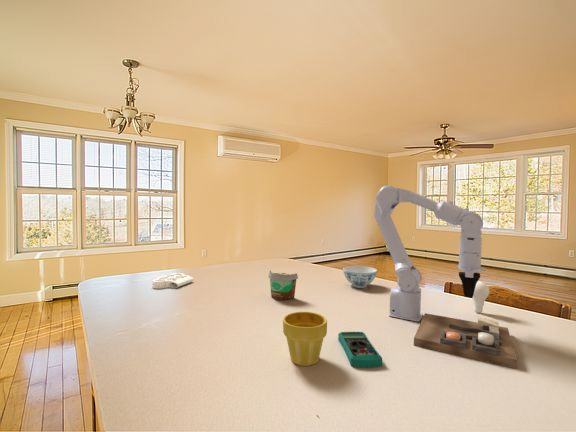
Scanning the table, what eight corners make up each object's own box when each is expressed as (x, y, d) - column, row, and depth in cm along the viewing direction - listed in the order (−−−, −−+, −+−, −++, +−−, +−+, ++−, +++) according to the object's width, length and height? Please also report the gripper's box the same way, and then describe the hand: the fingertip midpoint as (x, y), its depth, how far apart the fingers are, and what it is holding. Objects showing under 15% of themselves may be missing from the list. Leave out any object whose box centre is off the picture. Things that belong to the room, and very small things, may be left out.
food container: (262, 298, 120) (262, 273, 120) (269, 294, 126) (269, 270, 126) (292, 303, 116) (292, 276, 115) (297, 298, 122) (298, 273, 121)
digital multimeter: (351, 370, 70) (351, 357, 70) (337, 341, 85) (337, 330, 85) (383, 369, 71) (383, 357, 71) (364, 340, 85) (364, 330, 85)
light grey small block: (489, 340, 80) (489, 331, 80) (488, 334, 84) (489, 326, 84) (498, 342, 79) (499, 333, 79) (497, 336, 83) (498, 327, 83)
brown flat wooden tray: (413, 345, 82) (414, 332, 82) (424, 319, 101) (425, 308, 101) (516, 368, 71) (517, 353, 71) (507, 334, 90) (507, 322, 90)
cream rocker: (477, 324, 89) (478, 319, 88) (477, 320, 92) (478, 316, 92) (498, 331, 86) (499, 326, 86) (497, 327, 89) (498, 322, 89)
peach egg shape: (445, 341, 79) (446, 334, 79) (446, 337, 82) (446, 330, 82) (460, 344, 78) (460, 337, 78) (460, 340, 81) (460, 333, 81)
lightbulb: (491, 316, 104) (493, 284, 104) (471, 315, 106) (472, 282, 105) (484, 310, 110) (485, 279, 110) (465, 309, 112) (466, 278, 111)
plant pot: (293, 374, 67) (294, 330, 67) (276, 353, 77) (276, 314, 76) (334, 365, 71) (335, 323, 71) (313, 346, 81) (313, 309, 80)
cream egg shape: (478, 343, 76) (478, 335, 76) (477, 338, 79) (478, 331, 79) (493, 346, 74) (494, 338, 74) (493, 341, 77) (493, 334, 77)
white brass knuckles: (172, 291, 130) (144, 288, 135) (197, 281, 148) (171, 279, 152) (172, 283, 130) (144, 280, 135) (197, 274, 147) (171, 272, 152)
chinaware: (351, 280, 152) (351, 264, 152) (381, 285, 143) (381, 268, 143) (337, 286, 140) (337, 269, 140) (369, 292, 131) (369, 274, 131)
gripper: (486, 256, 86) (484, 305, 86) (484, 250, 98) (483, 293, 99) (457, 254, 89) (456, 301, 90) (459, 248, 102) (458, 289, 102)
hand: (468, 296), depth 95 cm, fingers closed
